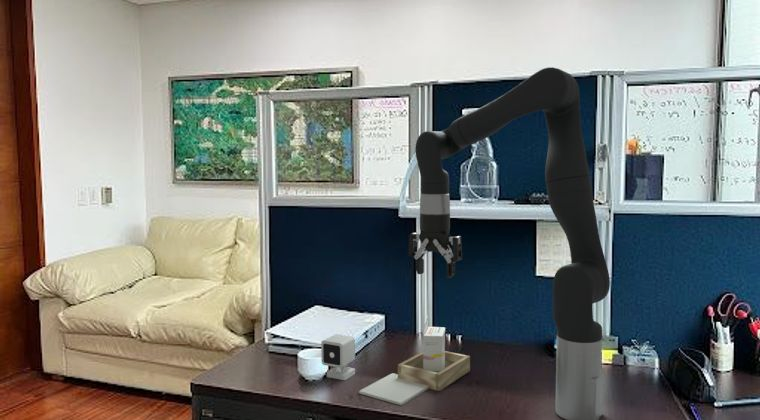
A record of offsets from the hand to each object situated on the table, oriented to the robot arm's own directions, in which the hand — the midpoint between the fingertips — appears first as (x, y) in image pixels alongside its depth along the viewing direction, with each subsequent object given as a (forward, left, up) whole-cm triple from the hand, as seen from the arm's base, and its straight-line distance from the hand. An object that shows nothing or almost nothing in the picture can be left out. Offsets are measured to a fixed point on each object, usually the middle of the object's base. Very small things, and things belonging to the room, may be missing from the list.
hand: (434, 275), depth 148 cm
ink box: (0, 0, -26) cm, 26 cm away
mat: (+3, +13, -26) cm, 29 cm away
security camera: (+20, +14, -26) cm, 36 cm away
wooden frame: (0, 0, -26) cm, 26 cm away
